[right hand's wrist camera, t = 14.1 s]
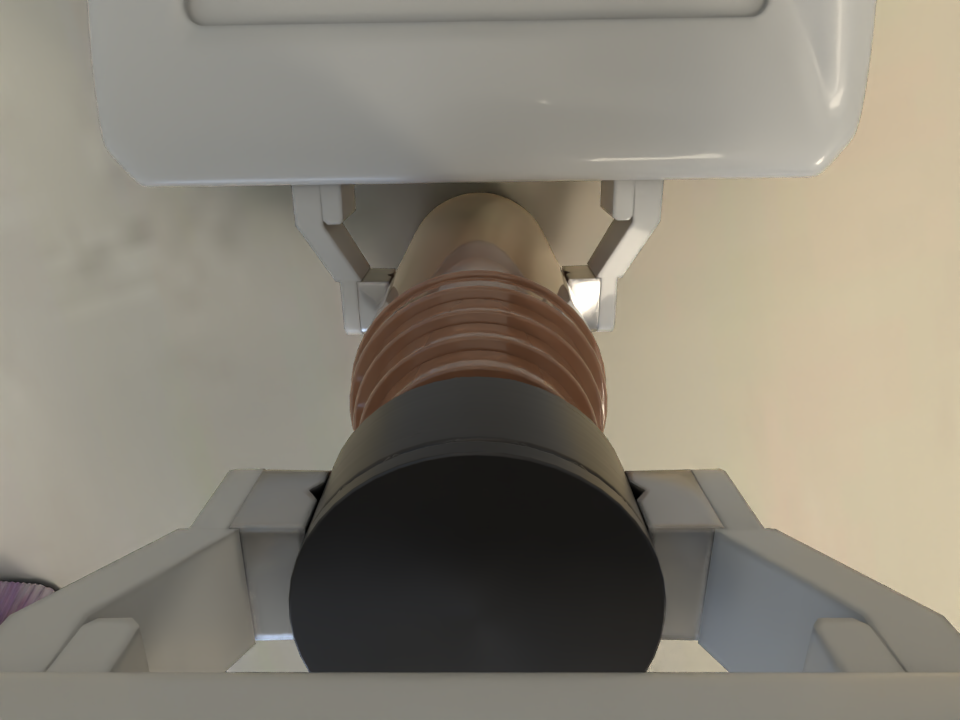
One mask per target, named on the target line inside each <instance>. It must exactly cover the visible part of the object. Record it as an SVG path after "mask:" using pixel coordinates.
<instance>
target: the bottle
mask: <svg viewBox="0 0 960 720" xmlns="http://www.w3.org/2000/svg"><path fill="white" fill-rule="evenodd" d="M456 377H458V378H460V377H494V378H503V379H511V380H516V381H519V382H523V383H526V384H529V385H532V386H535V387H539V388H541V389H543V390H546V391H548V392H550V393H552V394H554V395H557V396H559V397H560V398H562V399H564V400H565V401H567V402H568V403H570V404H571V405H573V406H575V407H576V408H577V409H579V410H580V411H581V412H582V413H583V414H585V415H586V416H587V417H588V418H589V419H591V420H592V421H593V423H594V424H595V425H596V426H597V427H598V428H599V429H600V430H601V431H602V433H603V431H604V428H605V423H606V417H607V389H606V376H605V369H604V363H603V360H602V356H601V353H600V349H599V347H598V345H597V343H596V341H595V338H594V336H593V334H592V332H591V330H590V328H589V326H588V324H587V322H586V320H585V318H584V316H583V313H582V311H581V309H580V307H579V305H578V303H577V301H576V299H575V297H574V295H573V293H572V291H571V289H570V287H569V285H568V283H567V280H566V278H565V276H564V274H563V272H562V270H561V268H560V266H559V264H558V262H557V260H556V258H555V256H554V254H553V252H552V250H551V247H550V245H549V243H548V241H547V239H546V237H545V235H544V233H543V231H542V229H541V227H540V226H539V224H538V223H537V221H536V220H535V219H534V218H533V216H532V215H531V214H530V213H529V212H528V211H527V210H526V209H524V208H523V207H522V206H520V205H519V204H517V203H516V202H514V201H512V200H510V199H508V198H506V197H503V196H500V195H496V194H491V193H481V192H478V193H468V194H463V195H459V196H456V197H453V198H451V199H449V200H447V201H445V202H443V203H441V204H440V205H438V206H437V207H436V208H434V209H433V210H432V211H431V212H430V213H429V214H428V215H427V216H426V217H425V219H424V220H423V221H422V222H421V224H420V226H419V227H418V229H417V231H416V233H415V235H414V237H413V239H412V241H411V243H410V245H409V247H408V249H407V251H406V253H405V255H404V257H403V259H402V261H401V263H400V265H399V267H398V269H397V271H396V273H395V275H394V277H393V279H392V281H391V283H390V285H389V287H388V289H387V291H386V293H385V295H384V297H383V299H382V301H381V303H380V305H379V307H378V309H377V311H376V313H375V315H374V317H373V318H372V320H371V322H370V324H369V326H368V328H367V330H366V332H365V334H364V337H363V339H362V341H361V343H360V345H359V348H358V350H357V354H356V357H355V360H354V364H353V371H352V378H351V390H350V416H351V422H352V427H353V431H355V430H356V429H357V428H358V427H359V425H360V424H361V423H362V422H363V421H364V420H365V419H366V418H367V417H369V416H370V415H371V414H372V413H373V412H375V411H376V410H377V409H378V408H379V407H381V406H383V405H384V404H386V403H387V402H389V401H390V400H392V399H394V398H395V397H397V396H399V395H401V394H403V393H405V392H407V391H409V390H411V389H414V388H417V387H420V386H423V385H426V384H430V383H433V382H436V381H442V380H447V379H452V378H456Z"/></svg>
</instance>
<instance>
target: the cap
mask: <svg viewBox="0 0 960 720" xmlns="http://www.w3.org/2000/svg"><path fill="white" fill-rule="evenodd" d="M288 601H289V619H290V624H291V628H292V633H293V638H294V641H295V643H296V646H297V649H298V651H299V654H300V657H301V658H302V660H303V662H304V664H305V666H306V667H307V669H308V671H309V672H646V671H647V669H648V667H649V665H650V664H651V662H652V660H653V658H654V656H655V654H656V651H657V648H658V646H659V643H660V640H661V637H662V632H663V627H664V622H665V617H666V591H665V583H664V577H663V573H662V570H661V567H660V563H659V560H658V557H657V554H656V552H655V549H654V547H653V544H652V542H651V539H650V536H649V534H648V531H647V529H646V526H645V523H644V521H643V518H642V516H641V513H640V511H639V508H638V506H637V503H636V500H635V498H634V495H633V493H632V490H631V488H630V485H629V482H628V480H627V477H626V475H625V472H624V470H623V467H622V465H621V463H620V460H619V458H618V456H617V454H616V452H615V450H614V448H613V447H612V445H611V444H610V442H609V441H608V439H607V438H606V436H605V435H604V434H603V433H602V431H601V430H600V429H599V428H598V427H597V426H596V425H595V424H594V423H593V421H592V420H591V419H589V418H588V417H587V416H586V415H585V414H583V413H582V412H581V411H580V410H579V409H577V408H576V407H575V406H573V405H571V404H570V403H568V402H567V401H565V400H564V399H562V398H560V397H559V396H557V395H554V394H552V393H550V392H548V391H546V390H543V389H541V388H539V387H535V386H532V385H529V384H526V383H523V382H519V381H516V380H511V379H503V378H494V377H460V378H458V377H456V378H452V379H447V380H442V381H436V382H433V383H430V384H426V385H423V386H420V387H417V388H414V389H411V390H409V391H407V392H405V393H403V394H401V395H399V396H397V397H395V398H394V399H392V400H390V401H389V402H387V403H386V404H384V405H383V406H381V407H379V408H378V409H377V410H376V411H375V412H373V413H372V414H371V415H370V416H369V417H367V418H366V419H365V420H364V421H363V422H362V423H361V424H360V425H359V427H358V428H357V429H356V430H355V431H354V432H353V433H352V434H351V436H350V437H349V439H348V440H347V442H346V443H345V445H344V446H343V448H342V449H341V452H340V454H339V456H338V458H337V460H336V462H335V464H334V466H333V469H332V471H331V474H330V476H329V479H328V481H327V484H326V486H325V489H324V491H323V494H322V496H321V499H320V501H319V504H318V506H317V508H316V511H315V513H314V516H313V518H312V521H311V523H310V526H309V528H308V531H307V533H306V536H305V538H304V541H303V543H302V546H301V548H300V550H299V553H298V555H297V558H296V561H295V565H294V568H293V572H292V575H291V580H290V588H289V596H288Z"/></svg>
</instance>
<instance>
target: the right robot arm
mask: <svg viewBox="0 0 960 720" xmlns="http://www.w3.org/2000/svg"><path fill="white" fill-rule="evenodd" d="M624 472H625V475H626V477H627V480H628V482H629V485H630V488H631V490H632V493H633V495H634V498H635V500H636V503H637V506H638V508H639V511H640V513H641V516H642V518H643V521H644V523H645V526H646V529H647V531H648V534H649V536H650V539H651V542H652V544H653V547H654V549H655V552H656V554H657V557H658V560H659V563H660V567H661V570H662V573H663V577H664V583H665V591H666V617H665V622H664V627H663V632H662V637H661V639H665V640H699V641H698V643H699V644H700V645H701V646H702V647H703V648H704V649H705V650H706V651H707V652H708V653H709V654H710V655H711V656H712V657H714V658H715V659H716V660H717V661H718V662H719V663H720V664H721V665H722V666H723V667H724V668H725V669H726V670H727V671H728V672H226V671H227V670H228V669H229V668H230V667H231V666H232V665H233V664H234V663H235V662H236V661H237V660H239V659H240V658H241V657H242V656H243V655H244V654H245V653H246V652H247V651H248V650H249V649H250V648H252V647H253V646H254V645H255V644H256V642H255V640H288V639H294V638H293V633H292V628H291V624H290V619H289V601H288V596H289V588H290V580H291V575H292V572H293V568H294V565H295V561H296V558H297V555H298V553H299V550H300V548H301V546H302V543H303V541H304V538H305V536H306V533H307V531H308V528H309V526H310V523H311V521H312V518H313V516H314V513H315V511H316V508H317V506H318V504H319V501H320V499H321V496H322V494H323V491H324V489H325V486H326V484H327V481H328V479H329V476H330V474H331V471H323V470H270V469H268V470H265V469H235V470H231V471H229V472H228V473H227V474H226V476H225V477H224V479H223V480H222V482H221V483H220V484H219V486H218V487H217V489H216V490H215V492H214V493H213V495H212V496H211V497H210V499H209V500H208V502H207V503H206V505H205V506H204V508H203V509H202V510H201V512H200V513H199V515H198V516H197V518H196V519H195V521H194V522H193V523H192V525H191V526H190V528H189V529H177V530H175V531H173V532H171V533H169V534H167V535H165V536H163V537H161V538H159V539H157V540H156V541H154V542H152V543H150V544H148V545H146V546H144V547H142V548H140V549H138V550H136V551H134V552H132V553H130V554H128V555H126V556H124V557H122V558H120V559H118V560H116V561H114V562H112V563H111V564H109V565H107V566H105V567H103V568H101V569H99V570H97V571H95V572H93V573H91V574H89V575H87V576H85V577H83V578H81V579H79V580H77V581H75V582H73V583H71V584H69V585H68V586H66V587H64V588H62V589H60V590H58V591H56V592H54V593H52V594H50V595H48V596H46V597H44V598H42V599H40V600H38V601H36V602H34V603H32V604H30V605H28V606H26V607H25V608H23V609H21V610H19V611H17V612H15V613H13V614H11V615H9V616H8V617H7V618H6V620H5V621H4V622H3V623H2V624H1V625H0V720H960V634H959V632H958V631H957V630H956V629H955V628H954V627H953V626H952V625H951V624H950V622H949V621H948V620H947V619H946V618H945V617H944V616H943V615H941V614H939V613H937V612H935V611H933V610H931V609H929V608H927V607H925V606H923V605H921V604H919V603H917V602H916V601H914V600H912V599H910V598H908V597H906V596H904V595H902V594H900V593H898V592H896V591H894V590H892V589H890V588H888V587H887V586H885V585H883V584H881V583H879V582H877V581H875V580H873V579H871V578H869V577H867V576H865V575H863V574H861V573H860V572H858V571H856V570H854V569H852V568H850V567H848V566H846V565H844V564H842V563H840V562H838V561H836V560H834V559H832V558H831V557H829V556H827V555H825V554H823V553H821V552H819V551H817V550H815V549H813V548H811V547H809V546H807V545H805V544H804V543H802V542H800V541H798V540H796V539H794V538H792V537H790V536H788V535H786V534H784V533H782V532H780V531H778V530H777V529H765V528H764V527H763V525H762V524H761V523H760V521H759V520H758V518H757V517H756V515H755V514H754V512H753V511H752V509H751V508H750V507H749V505H748V504H747V502H746V501H745V499H744V498H743V496H742V495H741V493H740V492H739V490H738V489H737V488H736V486H735V485H734V483H733V482H732V480H731V479H730V477H729V476H728V474H727V473H726V472H725V471H724V470H722V469H699V470H651V471H624Z"/></svg>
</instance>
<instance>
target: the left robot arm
mask: <svg viewBox="0 0 960 720" xmlns="http://www.w3.org/2000/svg"><path fill="white" fill-rule="evenodd" d="M876 1H877V0H87V4H88V26H89V39H90V51H91V63H92V72H93V81H94V89H95V97H96V104H97V111H98V118H99V124H100V130H101V135H102V139H103V142H104V145H105V148H106V149H107V151H108V153H109V154H110V155H111V156H112V157H113V158H114V160H115V161H116V162H117V163H118V164H119V165H120V166H121V167H122V168H123V169H124V170H125V171H126V172H127V173H128V174H129V175H130V176H131V177H132V178H133V179H134V180H135V181H136V182H137V183H138V184H140V185H142V186H145V187H201V186H267V185H291V189H292V197H293V206H294V215H295V224H296V227H297V228H298V230H299V231H300V233H301V234H302V235H303V237H304V238H305V240H306V241H307V242H308V244H309V245H310V246H311V248H312V249H313V251H314V252H315V253H316V255H317V256H318V258H319V259H320V260H321V262H322V263H323V265H324V266H325V267H326V269H327V270H328V272H329V273H330V274H331V276H332V277H333V279H334V280H335V281H336V282H340V287H341V297H342V308H343V319H344V329H345V331H346V334H347V335H363V334H365V332H366V330H367V328H368V326H369V324H370V322H371V320H372V318H373V317H374V315H375V313H376V311H377V309H378V307H379V305H380V303H381V301H382V299H383V297H384V295H385V293H386V291H387V289H388V287H389V285H390V283H391V281H392V279H393V277H394V275H395V273H396V268H370V265H369V264H368V262H367V261H366V259H365V258H364V256H363V254H362V253H361V251H360V250H359V248H358V246H357V245H356V243H355V242H354V240H353V239H352V237H351V235H350V234H349V232H348V231H347V229H346V228H345V226H344V224H343V223H342V222H343V221H344V220H345V219H346V218H348V217H349V216H350V215H351V214H352V213H353V212H354V211H355V210H356V206H355V191H354V184H401V183H468V182H534V181H601V205H600V206H601V207H602V208H603V210H605V211H606V212H607V213H608V214H609V215H611V216H612V217H613V218H614V220H613V221H612V223H611V225H610V226H609V228H608V230H607V231H606V233H605V235H604V236H603V238H602V240H601V241H600V243H599V245H598V246H597V248H596V250H595V251H594V253H593V255H592V256H591V258H590V260H589V261H588V263H587V264H588V265H579V266H562V272H563V274H564V276H565V278H566V280H567V283H568V285H569V287H570V289H571V291H572V293H573V295H574V297H575V299H576V301H577V303H578V305H579V307H580V309H581V311H582V313H583V316H584V318H585V320H586V322H587V324H588V326H589V328H590V330H591V332H604V331H613V329H614V324H615V314H616V297H617V281H618V278H622V277H623V275H624V274H625V272H626V271H627V269H628V268H629V266H630V265H631V264H632V262H633V261H634V259H635V258H636V256H637V255H638V253H639V252H640V250H641V249H642V247H643V246H644V244H645V243H646V241H647V240H648V238H649V237H650V235H651V234H652V232H653V231H654V230H655V228H656V227H657V225H658V224H659V222H660V218H661V207H662V195H663V183H664V180H668V179H735V178H797V177H814V176H818V175H820V174H821V173H823V172H824V171H825V170H826V169H827V168H828V167H829V166H830V165H831V164H832V163H833V162H834V160H835V159H836V158H837V157H838V156H839V155H840V153H841V152H842V151H843V150H844V149H845V148H846V147H847V145H848V144H849V143H850V142H851V141H852V139H853V137H854V135H855V133H856V131H857V128H858V124H859V121H860V118H861V113H862V108H863V103H864V97H865V91H866V86H867V79H868V72H869V65H870V58H871V50H872V42H873V34H874V23H875V12H876Z"/></svg>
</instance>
